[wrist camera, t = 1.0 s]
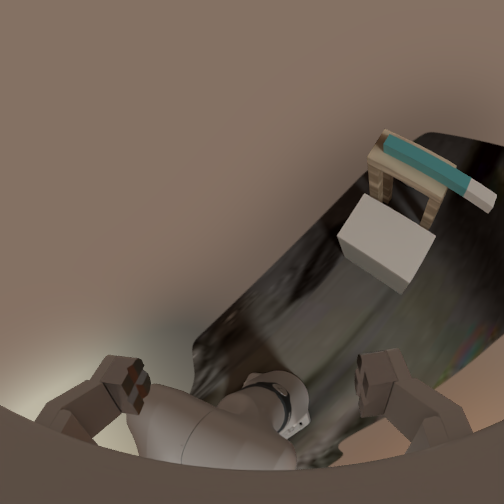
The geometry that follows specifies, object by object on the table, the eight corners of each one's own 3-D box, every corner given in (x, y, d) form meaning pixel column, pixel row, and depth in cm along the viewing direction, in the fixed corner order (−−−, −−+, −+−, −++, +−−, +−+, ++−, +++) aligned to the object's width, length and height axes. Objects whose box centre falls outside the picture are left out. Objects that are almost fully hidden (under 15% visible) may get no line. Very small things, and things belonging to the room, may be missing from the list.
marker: (488, 213, 34) (492, 207, 32) (383, 152, 43) (383, 143, 41) (492, 201, 34) (497, 195, 32) (389, 142, 43) (389, 133, 41)
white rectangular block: (400, 294, 60) (409, 282, 46) (344, 257, 67) (336, 235, 53) (422, 257, 60) (435, 236, 46) (367, 222, 67) (364, 193, 53)
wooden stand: (419, 246, 61) (442, 198, 38) (371, 216, 67) (366, 157, 44) (432, 222, 61) (456, 165, 37) (384, 193, 67) (384, 128, 44)
